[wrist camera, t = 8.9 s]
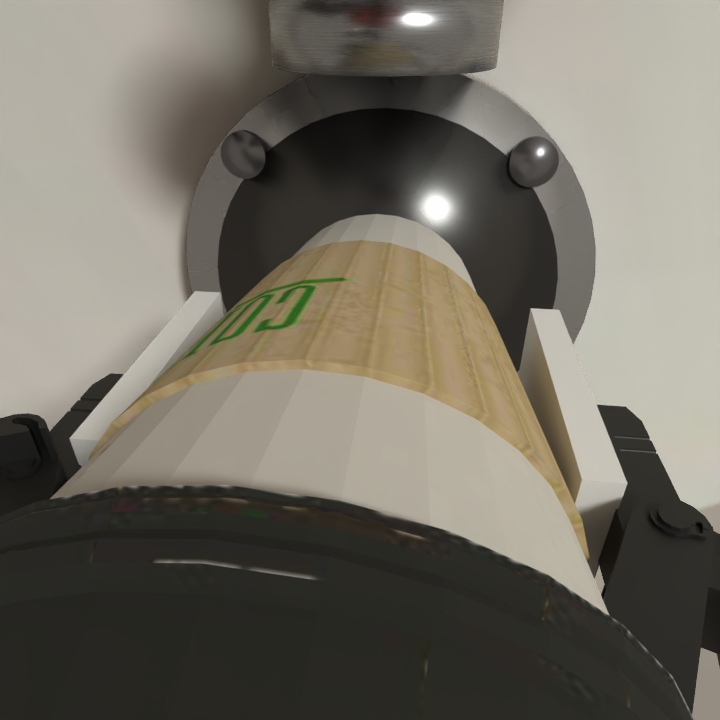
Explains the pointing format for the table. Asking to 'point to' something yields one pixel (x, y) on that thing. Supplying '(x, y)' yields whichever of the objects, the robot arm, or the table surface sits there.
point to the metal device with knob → (396, 159)
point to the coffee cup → (323, 524)
